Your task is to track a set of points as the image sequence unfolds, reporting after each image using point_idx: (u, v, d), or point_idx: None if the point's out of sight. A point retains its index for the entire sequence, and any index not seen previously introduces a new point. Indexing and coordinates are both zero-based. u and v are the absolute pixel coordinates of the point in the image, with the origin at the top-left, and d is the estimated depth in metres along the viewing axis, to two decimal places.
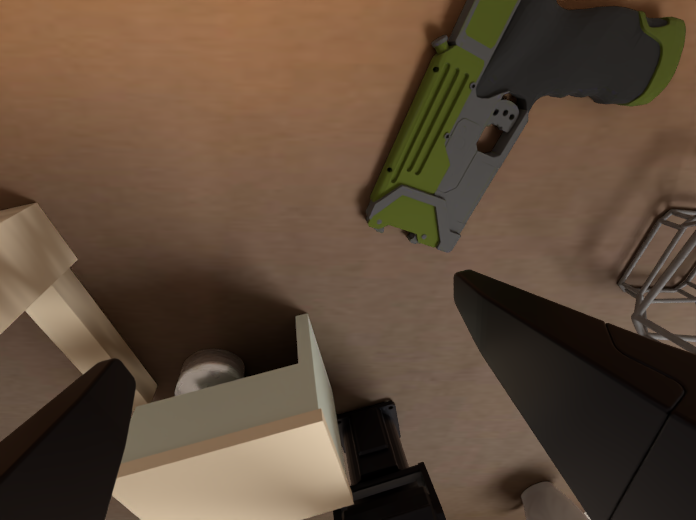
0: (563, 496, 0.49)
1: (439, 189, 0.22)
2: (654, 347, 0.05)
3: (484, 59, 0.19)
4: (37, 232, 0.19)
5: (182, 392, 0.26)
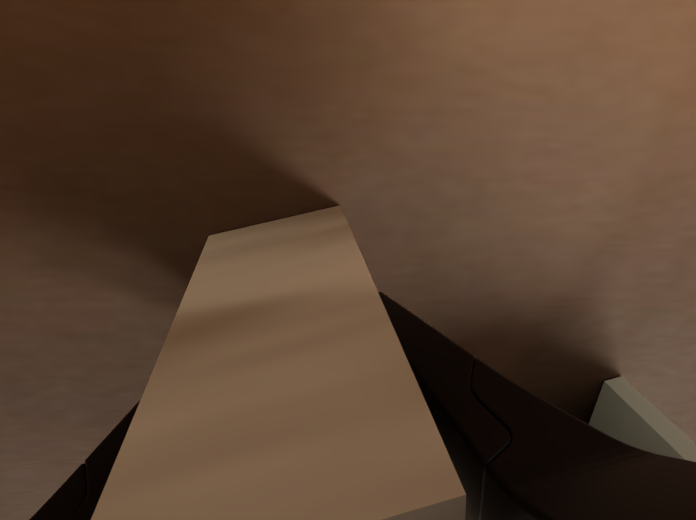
0: None
1: None
2: (505, 388, 0.05)
3: None
4: None
5: None
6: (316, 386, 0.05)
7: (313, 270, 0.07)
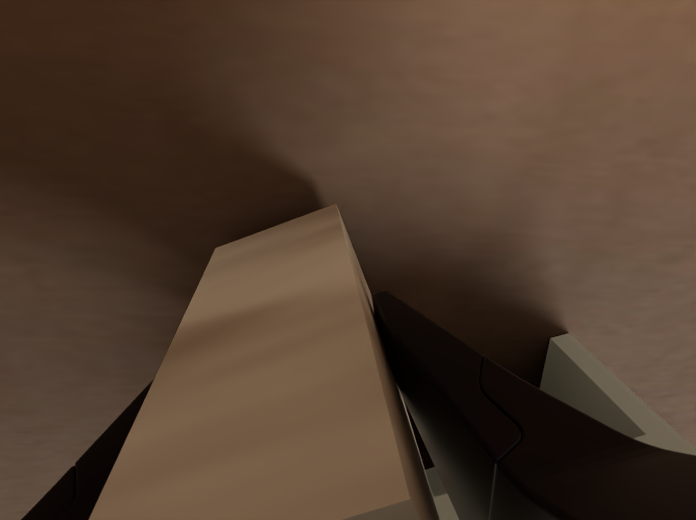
0: None
1: None
2: (514, 386, 0.05)
3: None
4: (356, 261, 0.10)
5: None
6: (287, 390, 0.05)
7: (301, 274, 0.07)
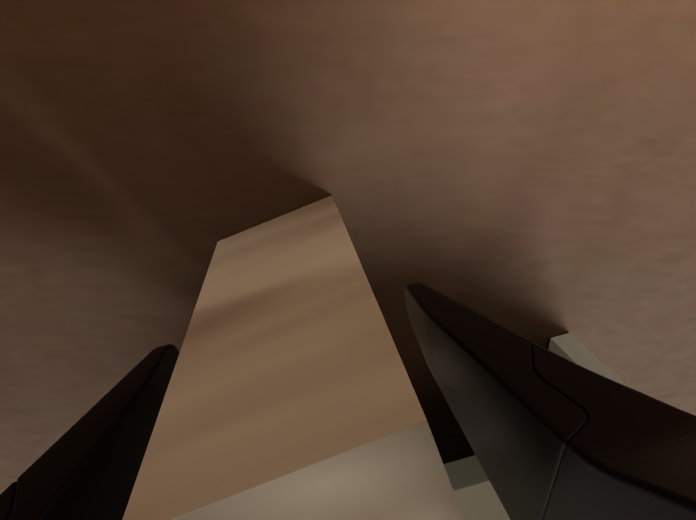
0: None
1: None
2: (570, 370, 0.05)
3: None
4: None
5: None
6: (307, 353, 0.05)
7: (307, 257, 0.08)
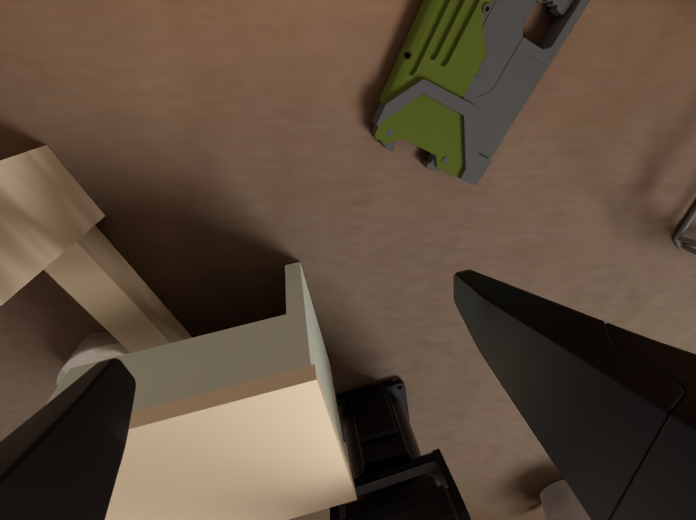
0: None
1: (469, 91, 0.17)
2: (654, 347, 0.05)
3: None
4: (52, 178, 0.16)
5: None
6: None
7: None
